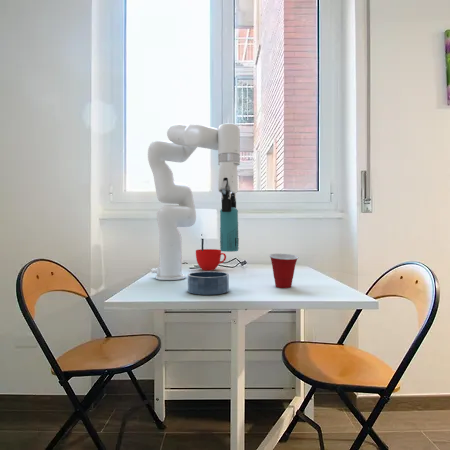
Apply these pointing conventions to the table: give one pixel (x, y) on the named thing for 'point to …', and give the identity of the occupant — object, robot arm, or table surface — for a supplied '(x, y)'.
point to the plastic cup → (283, 269)
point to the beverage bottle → (229, 229)
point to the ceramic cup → (209, 258)
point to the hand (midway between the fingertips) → (229, 211)
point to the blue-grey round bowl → (208, 283)
